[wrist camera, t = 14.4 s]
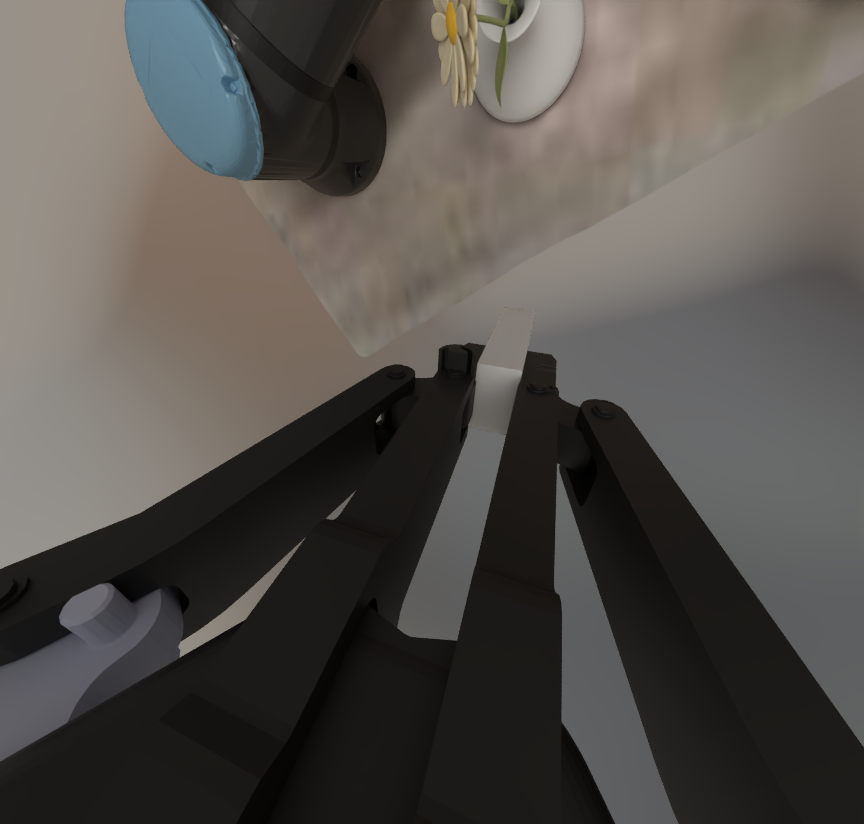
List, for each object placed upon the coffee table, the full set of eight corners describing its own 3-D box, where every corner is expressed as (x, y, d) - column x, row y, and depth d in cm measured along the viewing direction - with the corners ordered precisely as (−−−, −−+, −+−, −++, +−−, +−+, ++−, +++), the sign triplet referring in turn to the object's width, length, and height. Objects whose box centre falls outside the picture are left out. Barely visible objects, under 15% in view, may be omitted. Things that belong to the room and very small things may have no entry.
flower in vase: (484, -33, 32) (363, -374, 13) (603, -32, 30) (680, -444, 10) (462, 137, 40) (367, 89, 20) (556, 148, 38) (549, 105, 18)
